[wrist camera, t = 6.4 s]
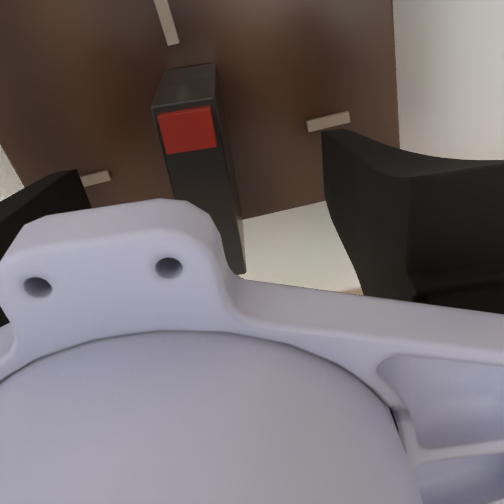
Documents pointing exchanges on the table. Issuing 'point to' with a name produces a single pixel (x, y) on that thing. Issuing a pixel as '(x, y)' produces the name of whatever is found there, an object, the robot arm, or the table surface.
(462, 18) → the table surface
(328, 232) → the table surface
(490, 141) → the table surface
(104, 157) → the console
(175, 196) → the dark grey red block
